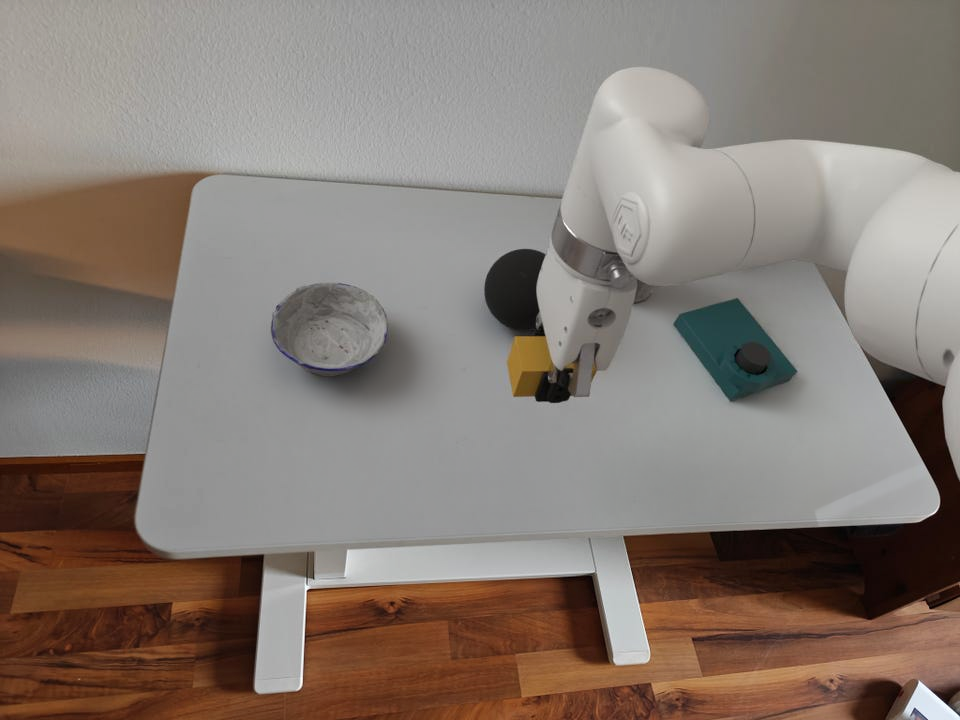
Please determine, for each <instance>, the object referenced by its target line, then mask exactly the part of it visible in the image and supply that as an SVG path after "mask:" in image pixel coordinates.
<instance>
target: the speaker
mask: <svg viewBox="0 0 960 720" xmlns="http://www.w3.org/2000/svg"><path fill="white" fill-rule="evenodd" d="M545 255H546V253H544V252H542V251H540V250H537V249H533V248H519V249H513V250H511V251H508V252H506V253H505V254H502V255H501V256H500V257H499V258H498V259H496V261H494V263H493V264H492V265H491V267H490V269H489V270H488V272H487V274H486V277H485V280H484V285H483V286H484V289H483V292H484V293H483V294H484V299H485V300H484V301H485V303H486V305H487V308H488V310H489V311H490V314H491V315H492V316H493V317H494V318H495V319H496V320H497V321H498V322H499V323H501V325H503V326H505V327H507V328H510V329H513V330H515V331H521V332H522V331H524V332H526V331H527V332H528V331H533V330H538V329H537V327H536V318H537V315H538V313H539V312H540V309H539V305H538V300H537V289H536V288H537V281H538V277H539V273H540V270H541V267H542V264H543V261H544V258H545Z"/></svg>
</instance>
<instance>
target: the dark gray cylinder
mask: <svg viewBox="0 0 960 720" xmlns="http://www.w3.org/2000/svg"><path fill="white" fill-rule="evenodd" d="M770 360H771V355H770V352H769V351H768V349H767V348H766V347H764V346H763V345H761V344H759V343H757V342H748V343H746V344H744V345H743V347H742V348H741V350H740V351H739V352H738V354H737V355H736V363H737V365H738V366H739V368H740V369H742V370H743V371H745V372H747V373H748V374H753V375H757V374H760V373H761V372H762V371H763V370H764V369H765V367H766V366H767V365H768V363H769V362H770Z"/></svg>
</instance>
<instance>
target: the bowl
mask: <svg viewBox="0 0 960 720" xmlns="http://www.w3.org/2000/svg"><path fill="white" fill-rule="evenodd" d="M271 316H272V318H271V319H272V320H271V325H270V333H271V338H272V341H273V344H274V345H275V347H276V348H277V350H278V351H279V352H280V353H281V354H282V355H284V356H285V357H286V358H288V359H289V360H290V361H292V362H293V363H296V364H297V365H299V366H300V367H302V368H303V369H305V370H307V371H309V372H311V373H313V374H316V375H318V376H324V377H335V376H336V377H337V376H341V375H345V374H347V373H350V372H351V371H354V370H355V369H356V368H358V367H360V366H362V365H365V364H366V363H368V362H370V361H371V360H372V359H373V358H375V357H377V356H378V354H379V353H380V351H381V350H382V349H383V347H384V345H386V342H387V337H388V333H389V322H388V317H387V314H386V311H385V310H384V308H383V306H382V305H381V304H380V302H379V300H377V299H376V297H375V296H373V295H372V294H370V293H369V292H367V291H366V290H364V289H362V288H359V287H358V286H355V285H351V284H346V283H341V282H321V283H313V284H309V285H301V286H299V287H298V288H296V290H294V291H292V292H290V293H289V294H288V295H286V297H285V298H283V299H282V300H281V302H279V304H277V305H276V307H275V310H274V311H273V312H272V313H271Z"/></svg>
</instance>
